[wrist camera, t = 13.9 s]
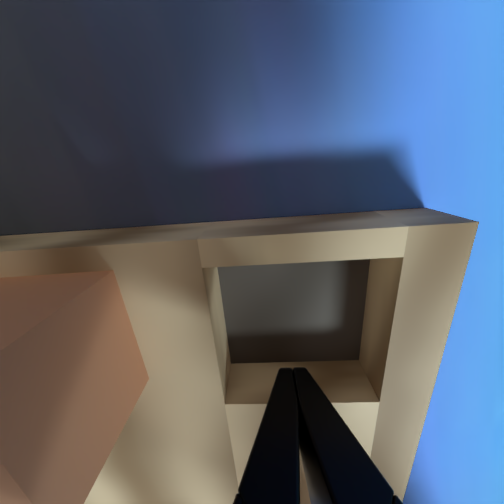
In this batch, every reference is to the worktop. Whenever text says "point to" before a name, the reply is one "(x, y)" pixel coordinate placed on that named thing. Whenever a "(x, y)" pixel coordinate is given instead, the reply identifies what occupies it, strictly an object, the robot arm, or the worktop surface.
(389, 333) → the board
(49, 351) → the block
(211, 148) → the worktop surface
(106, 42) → the worktop surface
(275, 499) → the robot arm
